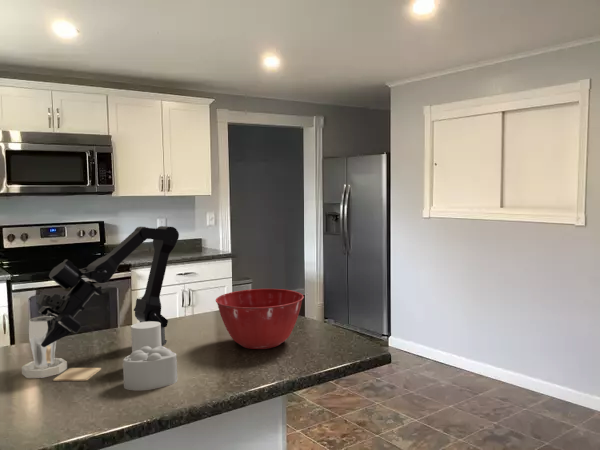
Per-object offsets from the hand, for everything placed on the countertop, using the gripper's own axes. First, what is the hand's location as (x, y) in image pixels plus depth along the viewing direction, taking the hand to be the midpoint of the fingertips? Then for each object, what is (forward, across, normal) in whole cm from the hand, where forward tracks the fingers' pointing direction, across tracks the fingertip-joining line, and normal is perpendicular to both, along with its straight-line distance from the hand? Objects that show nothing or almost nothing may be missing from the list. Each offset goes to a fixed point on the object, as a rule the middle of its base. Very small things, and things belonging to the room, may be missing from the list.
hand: (38, 343), depth 143 cm
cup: (-11, +18, +22) cm, 31 cm away
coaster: (+1, +10, +10) cm, 15 cm away
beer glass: (+5, 0, +7) cm, 8 cm away
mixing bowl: (-36, +25, +48) cm, 65 cm away
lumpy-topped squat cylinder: (-6, +30, +18) cm, 36 cm away
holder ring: (+5, 0, +7) cm, 8 cm away
